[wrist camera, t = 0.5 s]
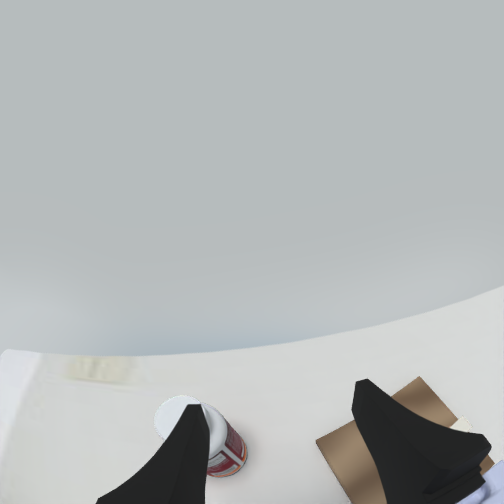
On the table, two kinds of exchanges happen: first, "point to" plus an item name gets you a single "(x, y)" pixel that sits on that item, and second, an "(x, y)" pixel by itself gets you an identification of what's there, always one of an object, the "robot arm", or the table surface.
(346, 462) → the board
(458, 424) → the tile
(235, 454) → the pill bottle
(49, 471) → the table surface
